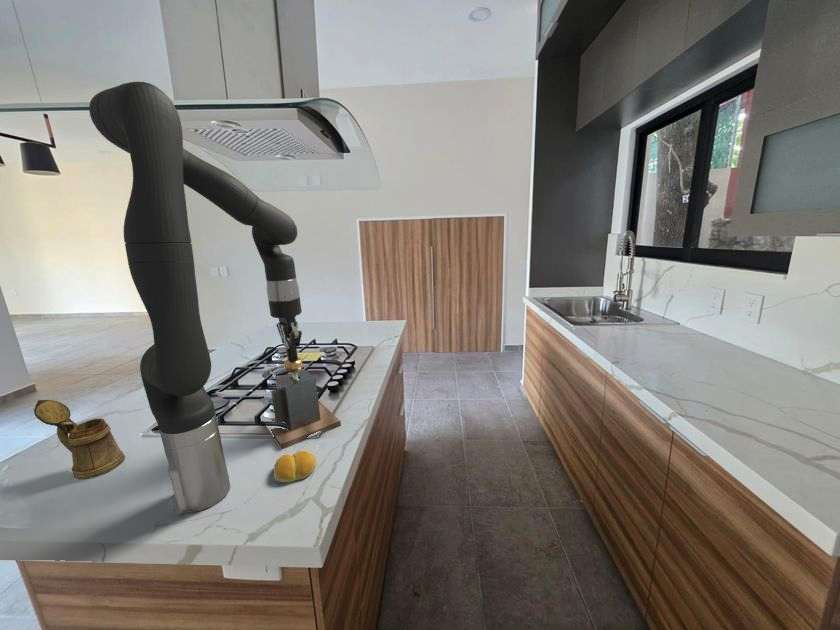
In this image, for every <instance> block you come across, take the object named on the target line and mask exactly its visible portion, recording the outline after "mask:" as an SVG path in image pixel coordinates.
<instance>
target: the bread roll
mask: <svg viewBox="0 0 840 630" xmlns="http://www.w3.org/2000/svg"><path fill="white" fill-rule="evenodd" d="M273 466H274V468H273V469H274V470H273V471H274V472H273V477H274V480H275V481H276V482H280V483H285V484H286V483H292V482H295V481H298V480H303V479H306V478H308V477H309V476H311V474H312V473H313V471H314V469H315V468H316V466H317V459H316V457H315V455H314V454H313V453H312V452H310V451H308V450H299V451H297V452H294V453H293V454H287V453H286V454H283V455H281V456H280V457H279V458H278V459H277V460H276V462H275V464H274V465H273Z"/></svg>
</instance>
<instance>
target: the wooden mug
mask: <svg viewBox="0 0 840 630" xmlns="http://www.w3.org/2000/svg"><path fill="white" fill-rule="evenodd" d="M33 413H34V415H35V417H36V419H38V420H39V421H40V422H42V424H43V423H44V424H45V425H49V426H55V427H57V428H56V434H57V438H58V440H59V442H60V443H61V444H62V446H64V447H65V448H66V449H67V450H68V451H69V452H70V454H71V458H72V467H71V473H72V477H73V478H74V479H77V480H89V479H93V478H98V477H99V476H102V475H104V474H107V473H109V472H111V471H113V470H114V469H116V468H117V467H119V466H120V465H122V463H124V461H125V460H126V456H125V454H124V452H123V450H121V448H120V447H119V445H118V443H117V441H116V439H115V437H114V435H113V434H112V432H111V427H110V425H109V424H108V423H107V422H106V419H104V418H101V417H100V418H93V419H88V420H86V421H84V422H81V423H79V424H77V423H76V422H74V421H73V420H72V419H71V410H70V409H69V407H68V406H67V405H66V404H64V403H62V402H60V401H57V400H54V399H37V402H36V404H35V406H34V409H33Z"/></svg>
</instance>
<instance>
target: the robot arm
mask: <svg viewBox="0 0 840 630" xmlns="http://www.w3.org/2000/svg"><path fill="white" fill-rule="evenodd" d="M177 110H178V109H176V107H175V103H173V101H172V100H171V98H170V97H169V96H168V95H167V94H166V93H165V92H164V91H163V90H161V89H160V88H159V87H157V86H156V85H154V84H152V83H150V82H144V81H129V82H125V83H122V84H120V85H116V86H113V87H111V88H107V89H104V90H102V91H100V92H98V93H96V94H95V95H94V96H93V97H91V100H90V101H89V108H88V111H89V116H90V119H91V121H92V123H93V125H94V126H95V128H96V130H97V131H98V132H99V133H100V135H102V136H103V137H104V138H105V139H106V140H107V141H109V142H110V143H111V144H112V145H114V146H116V147H117V148H119V149H121V150H122V151H125V152H126V153H127V154H129V156H130V160H131V161H130V162H131V167H132V188H131V190H130V197H129V199H128V204H127V208H126V212H125V217H124V220H123V221H124V224H123V240H124V247H125V252H126V253H125V254H126V258H127V265H128V269H129V271H130V272H129V273H130V276H131V279H132V282H133V284H134V286H135V288H136V292H137V293H138V294H139V297H140V300H141V302H142V303H143V305H144V307H145V310H146V313H147V315H148V318H149V320H150V324H151V327H152V334H153V342H154V343H153V344H152V345H151V346H150V347H148V348H147V349H146V350H145V352H144V353H143V354H142V357H141V359H140V363H139V369H140V371H139V372H140V377H141V380H142V384H143V388H144V391H145V396H146V398H147V401H148V402H147V403H148V405H149V408H150V411H151V413H152V416H153V418H154V419H155V421H156V423H157V426H158V430H159V433H160V437H161V442H162V445H163V449H164V454H165V458H166V460H167V465H168V473H169V477H170V481H171V486H172V489H173V493H174V497H175V502H176V505H177V509H178V512H179V515H184V514H186V513H193V512H194V513H195V512H199V511H203V510H206V509H208V508H211V507H212V506H214V505H216V504H218V503H219V502H220V501H222V500H223V499H224V498H225V497H226V495H228V493H229V491H230V489H231V483H230V476H229V472H228V468H227V467H228V466H227V463H226V459H225V453H224V447H223V443H222V439H221V433H220V428H219V423H218V419H217V415H216V409H215V405H214V401H213V400H212V398H211V397H210V396H209V394H208V392H207V390H206V389H205V387H204V386H205V385H206V384H207V383H208V380H209V379H210V376H211V372H212V360H211V355H210V351H209V347H208V343H207V341H206V336H205V334H204V329H203V324H202V320H201V315H200V306H199V295H198V288H197V279H196V278H197V277H196V270H195V269H196V268H195V258H194V251H193V244H192V237H191V232H190V227H189V226H190V225H189V218H188V208H187V201H186V193H185V186H187V187H188V188H190V189H191V190H193V191H194V192H197V194H199V195H201V196H202V197H203V198H204V199H206V200H208V201H210V203H212V204H214V205H215V206H216V207H218V208H219V209H220V210H222V211H223V212H224V213H226V214H227V215H229V216H230V217H231V218H233V219H234V220H235V221H236V222H238V223H240V224H242V225H245V226H251V235H252V239H253V242H254V244H255V247H256V249H257V252H258V254H259V256H260V259H261V260H262V263H263V265H264V274H265V280H266V295H267V301H268V307H269V315H270V317H272V318H275V319H278V322H277V323H276V328H277V331H278V334H279V337H280V340H281V342H282V343H281V344H282V345H284V348H285V349H286V357H287V359H288V360H289V361H290V362H294V361H297V360H298V358H299V356H298V350H297V348H298V347H300V345H301V340H302V335H303V334H302V331H301V330H298V329H299V323H298V321H297V319H296V316H299V315H301V314H302V310H303V309H302V304H301V297H300V290H299V289H300V288H299V285H298V284H299V283H298V280H297V273H296V266H295V261H294V258H293V257H292V256H291V255H289V254H285V253H284V252H283V250H281V247H280V246H286V245H289V244H292V243H294V242H295V241H296V239H297V236H298V228H297V224H296V223H295V221H294V219H292V218H291V216H289V215H288V214H287V213H285V211H283V210H281V209H279V208H278V207H276V206H274V205H272V204H270V203H269V202H267V201H265V200H263V199H261V198H260V197H259V196H258V195H256V194H255V192H253V190H251V189H250V188H248V187H247V186H246V185H245V184H244V183H243V182H241V181H240V180H239V179H238V178H236V177H234V176H233V175H231V174H230V173H229V172H226V171H225V170H223V169H221V168H219V167H217V166H215V165H213V164H211V163H209V162H207V161H205V160H203V159H202V158H200V157H198V156H196V155H195V154H193V153H191V152H190V151H188V150H187V149H185V148H184V141H183V140H184V138H183V136H184V135H183V128H182V121H181V118H180V115H179V112H178V111H177Z"/></svg>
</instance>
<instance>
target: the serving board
mask: <svg viewBox="0 0 840 630" xmlns="http://www.w3.org/2000/svg"><path fill="white" fill-rule="evenodd" d="M318 402H319V410H320V418H321V420H320V421H317V422H314V423H312V424H309V425H306V426H304V427H301V428H299V429H296V430H293V431H291V430H287V429H282V428H274V429H271V431H272V433H273V435H274V437H273V439H274V440H275V443H277V444H278V447H280V449H281V450H284V449H286V448H290V447H291V446H294V445H296V444H299V443H301V442H304V441H306V440H308V439H307V437H308V436H309V435H311V434H314V433H316V432H318V431H322V432H323V433H322V434H324V433H325V432H328V431H329V432H330V430H331V431H332V430H334V429H335V428H338V427H341V425H342V424H341V419H339V418H338V417H337V416H336V415H335V414H334V413H333V412H332V411H330V409H328V408H327V406H325V405H324V404H323V403H322V402H321V401H319V400H318ZM271 420H272V421H275V422H284V421H283V419H282V420H279V421H277V420H276V419H275V418H273V419H271Z"/></svg>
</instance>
